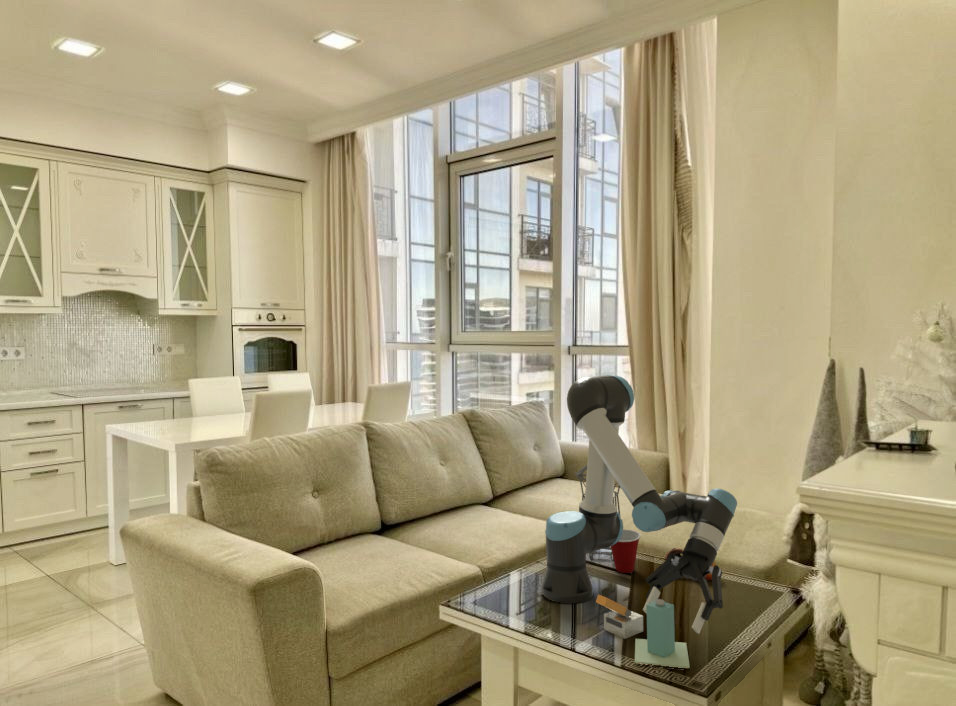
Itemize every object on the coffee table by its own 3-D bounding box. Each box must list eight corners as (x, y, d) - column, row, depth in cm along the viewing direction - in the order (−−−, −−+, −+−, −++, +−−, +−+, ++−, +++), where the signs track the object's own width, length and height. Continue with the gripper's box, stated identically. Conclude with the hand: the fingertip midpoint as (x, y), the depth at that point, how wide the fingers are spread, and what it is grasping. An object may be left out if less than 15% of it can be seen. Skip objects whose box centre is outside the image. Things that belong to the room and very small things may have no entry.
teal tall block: (647, 651, 153) (646, 600, 153) (658, 645, 156) (657, 595, 156) (664, 657, 150) (662, 605, 150) (674, 651, 153) (673, 600, 153)
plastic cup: (601, 571, 211) (600, 534, 211) (617, 562, 219) (616, 527, 219) (631, 578, 204) (631, 540, 204) (647, 569, 212) (646, 532, 212)
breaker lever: (620, 605, 169) (596, 593, 164) (632, 610, 166) (608, 598, 161) (617, 613, 168) (594, 601, 163) (629, 618, 165) (605, 606, 160)
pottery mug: (703, 576, 206) (694, 557, 203) (677, 590, 206) (667, 570, 204) (687, 555, 217) (678, 536, 215) (662, 568, 217) (653, 549, 215)
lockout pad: (634, 664, 149) (634, 660, 149) (635, 641, 160) (635, 638, 160) (689, 670, 146) (689, 666, 146) (686, 646, 157) (686, 642, 157)
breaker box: (622, 622, 172) (622, 607, 172) (643, 631, 166) (643, 615, 166) (603, 629, 167) (603, 614, 167) (624, 639, 162) (623, 623, 162)
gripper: (756, 565, 156) (724, 646, 147) (667, 542, 176) (634, 613, 166) (744, 548, 153) (711, 630, 144) (655, 527, 172) (620, 598, 163)
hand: (669, 621), depth 155 cm, fingers open, 13 cm apart
